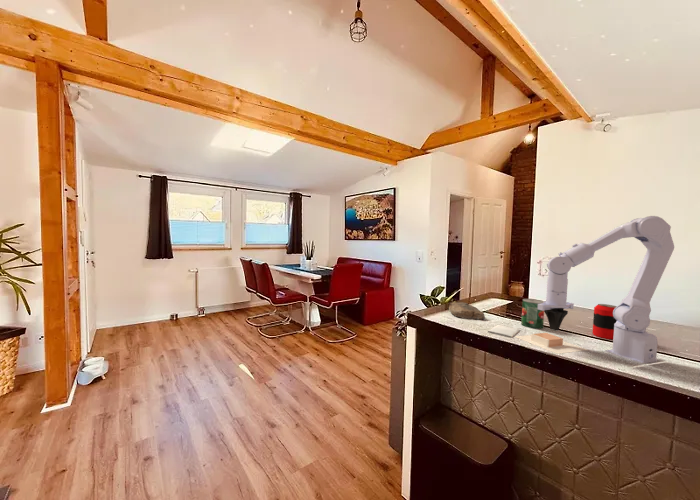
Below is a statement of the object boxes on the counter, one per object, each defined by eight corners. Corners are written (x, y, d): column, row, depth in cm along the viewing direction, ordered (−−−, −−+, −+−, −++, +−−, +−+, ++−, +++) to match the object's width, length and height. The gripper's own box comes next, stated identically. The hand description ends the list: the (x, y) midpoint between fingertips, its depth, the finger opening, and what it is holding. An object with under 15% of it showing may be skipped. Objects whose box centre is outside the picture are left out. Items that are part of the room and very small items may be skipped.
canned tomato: (547, 330, 115) (548, 303, 115) (526, 328, 117) (527, 302, 116) (537, 324, 123) (539, 299, 123) (517, 323, 124) (519, 298, 124)
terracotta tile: (563, 338, 98) (547, 340, 95) (562, 345, 98) (547, 347, 96) (546, 332, 103) (531, 334, 101) (545, 339, 103) (531, 340, 101)
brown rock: (445, 308, 150) (452, 317, 130) (445, 298, 149) (453, 307, 130) (473, 310, 147) (485, 321, 128) (474, 301, 147) (486, 310, 127)
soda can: (588, 334, 112) (590, 304, 111) (597, 332, 115) (600, 302, 115) (613, 341, 105) (615, 308, 105) (622, 338, 109) (624, 307, 108)
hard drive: (511, 336, 104) (520, 328, 113) (487, 330, 109) (497, 324, 118) (511, 340, 104) (519, 333, 113) (487, 334, 109) (497, 327, 118)
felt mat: (588, 351, 94) (588, 349, 94) (557, 355, 90) (557, 353, 90) (542, 334, 110) (542, 333, 110) (514, 337, 105) (514, 336, 105)
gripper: (560, 288, 106) (558, 324, 106) (530, 289, 101) (528, 327, 102) (580, 292, 99) (578, 331, 100) (549, 293, 95) (547, 334, 95)
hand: (554, 329), depth 100 cm, fingers closed
